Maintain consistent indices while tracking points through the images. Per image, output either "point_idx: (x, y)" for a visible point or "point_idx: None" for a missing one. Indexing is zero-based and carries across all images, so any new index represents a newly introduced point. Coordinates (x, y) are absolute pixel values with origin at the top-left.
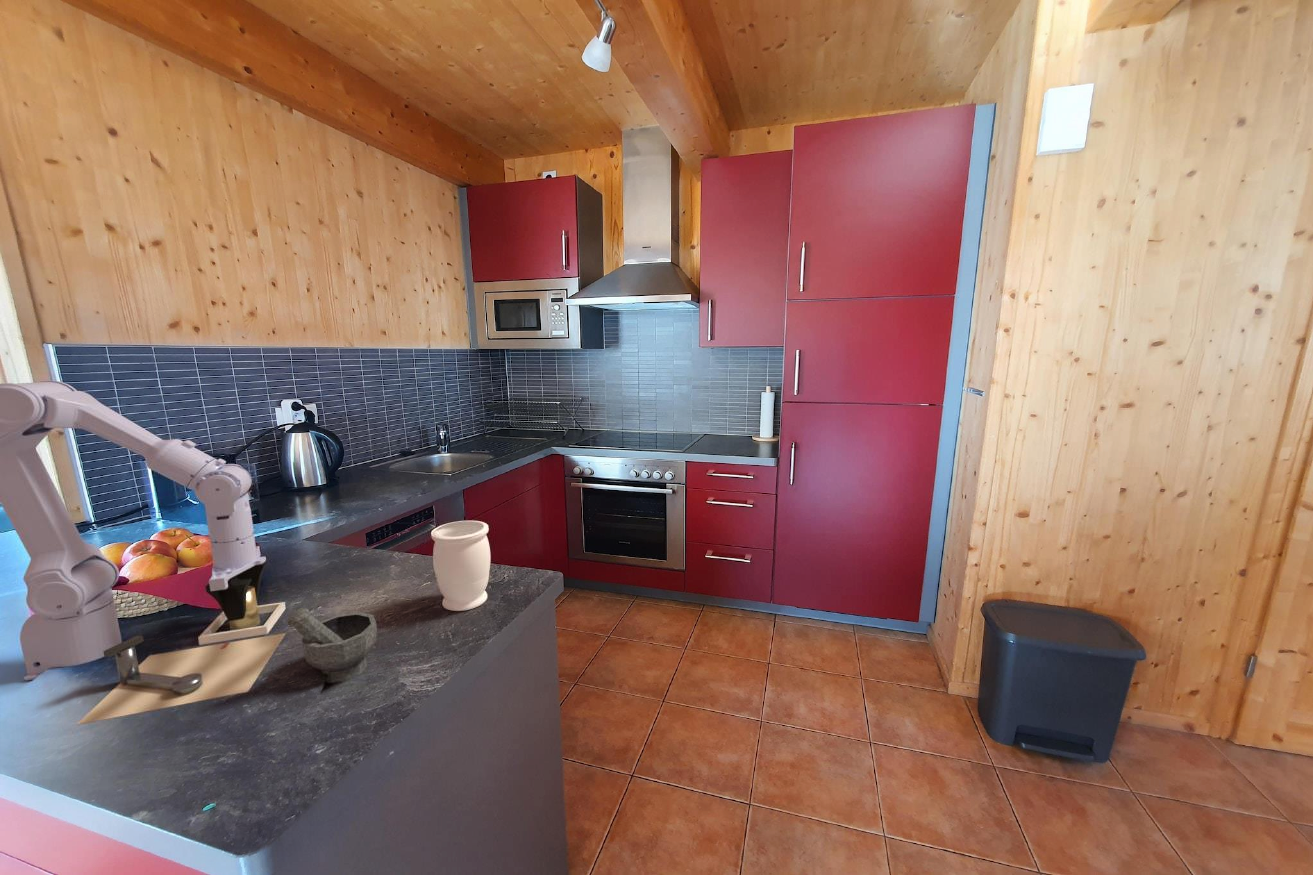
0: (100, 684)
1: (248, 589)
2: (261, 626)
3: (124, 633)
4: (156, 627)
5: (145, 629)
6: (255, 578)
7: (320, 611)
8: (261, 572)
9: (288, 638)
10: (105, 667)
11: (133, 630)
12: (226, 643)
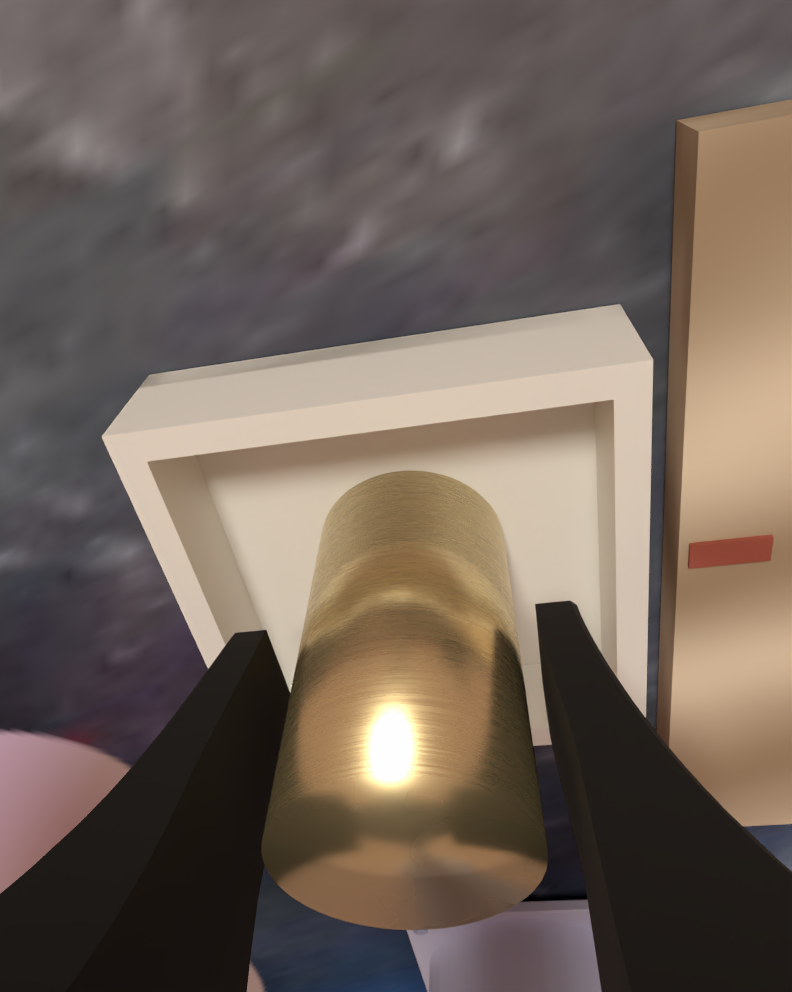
0: (788, 855)
1: (371, 814)
2: (630, 407)
3: (316, 952)
4: (275, 898)
5: (290, 918)
6: (168, 880)
7: (76, 34)
8: (78, 915)
9: (652, 115)
10: None
11: (293, 942)
12: (703, 556)
